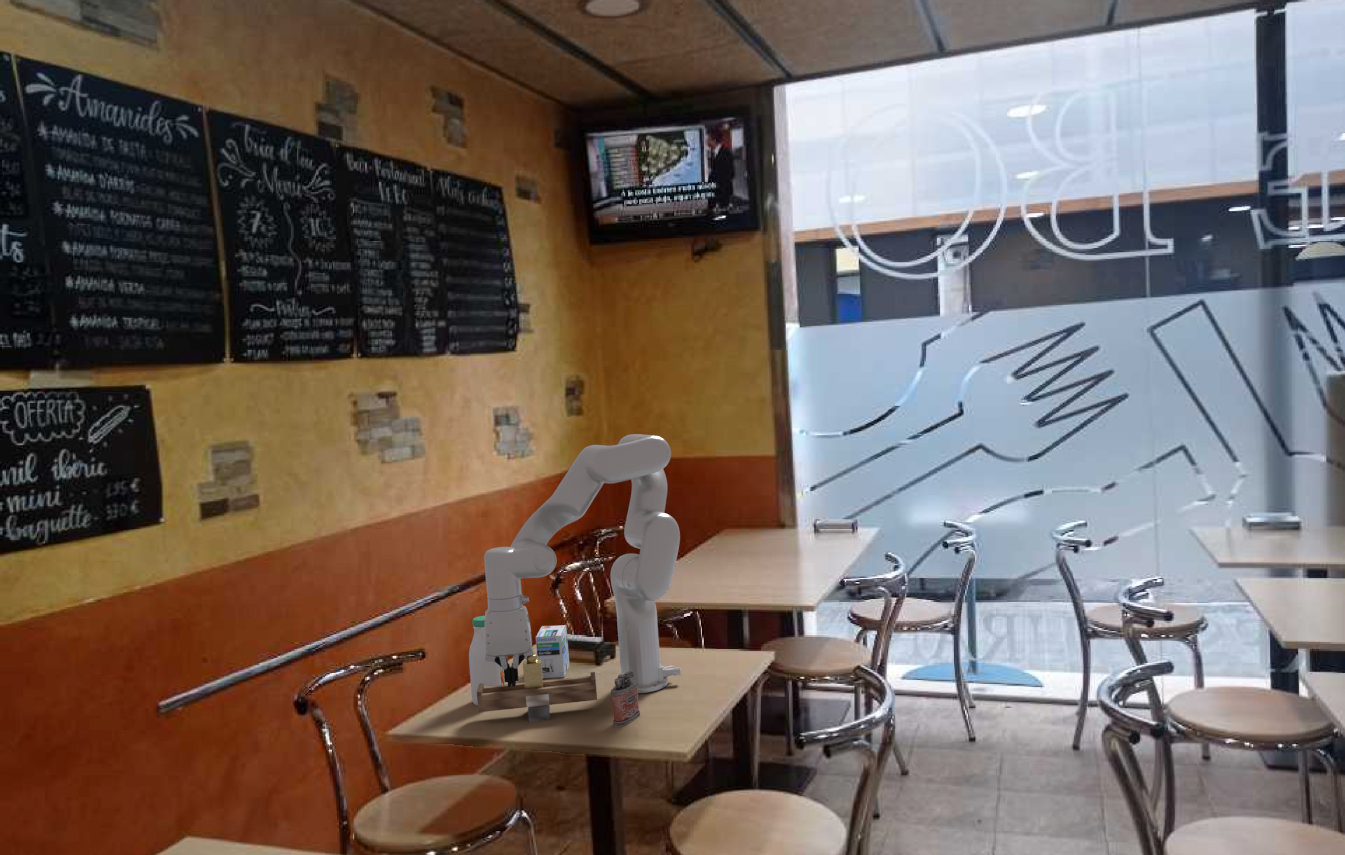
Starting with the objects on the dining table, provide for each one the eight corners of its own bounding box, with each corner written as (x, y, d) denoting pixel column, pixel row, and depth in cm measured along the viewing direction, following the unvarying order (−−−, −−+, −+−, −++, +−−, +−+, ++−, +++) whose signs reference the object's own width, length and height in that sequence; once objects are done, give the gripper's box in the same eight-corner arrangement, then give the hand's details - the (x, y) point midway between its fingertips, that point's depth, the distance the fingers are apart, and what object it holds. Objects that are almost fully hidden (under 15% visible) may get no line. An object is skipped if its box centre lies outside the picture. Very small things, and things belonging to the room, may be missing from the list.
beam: (597, 702, 228) (594, 670, 227) (598, 714, 220) (595, 681, 220) (482, 714, 225) (479, 682, 225) (479, 727, 217) (476, 693, 217)
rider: (543, 687, 224) (540, 652, 223) (543, 691, 221) (540, 655, 220) (525, 689, 223) (522, 654, 223) (525, 693, 221) (522, 657, 220)
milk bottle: (498, 707, 230) (491, 621, 228) (467, 707, 231) (460, 622, 230) (510, 695, 237) (503, 613, 236) (480, 695, 239) (473, 613, 238)
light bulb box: (565, 677, 248) (561, 635, 248) (538, 679, 248) (534, 637, 248) (570, 664, 259) (566, 624, 258) (544, 666, 259) (541, 625, 258)
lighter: (622, 727, 211) (619, 681, 211) (609, 725, 213) (606, 679, 213) (643, 714, 218) (640, 669, 218) (630, 712, 220) (627, 668, 219)
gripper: (539, 596, 225) (546, 676, 226) (472, 602, 223) (479, 683, 225) (538, 604, 217) (545, 686, 219) (469, 611, 216) (476, 693, 217)
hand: (512, 684), depth 222 cm, fingers closed
